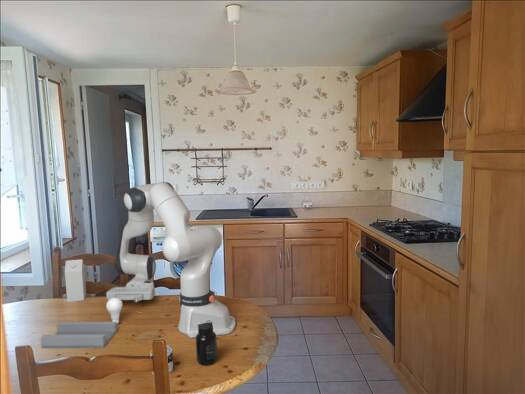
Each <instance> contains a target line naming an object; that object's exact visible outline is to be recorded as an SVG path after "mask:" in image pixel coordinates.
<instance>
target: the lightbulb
mask: <svg viewBox="0 0 525 394" xmlns="http://www.w3.org/2000/svg"><path fill="white" fill-rule="evenodd" d="M123 304H124V303H123V300H120V299H119V298H111V299H110V300H107V302H106V306H105V307H106V310H107V312H108V313H109V315H110V319H111V322H117V324H119V322H120V315H121V314H120V313H121V311H122V309H123Z"/></svg>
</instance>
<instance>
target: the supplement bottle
mask: <svg viewBox="0 0 525 394" xmlns="http://www.w3.org/2000/svg"><path fill="white" fill-rule="evenodd" d="M217 343H218V341H217V335H216V333H215V332H214V331H213V325H212V324H211V323H203V324H200V325H199V326H198V334H197V335H196V337H195V353H196V362H197V364H198V365H200V364H201V366H210V365H209V364H211V365H213V364H215V363H216V362H217V360H218V344H217ZM214 362H215V363H214ZM212 363H213V364H212Z"/></svg>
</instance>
